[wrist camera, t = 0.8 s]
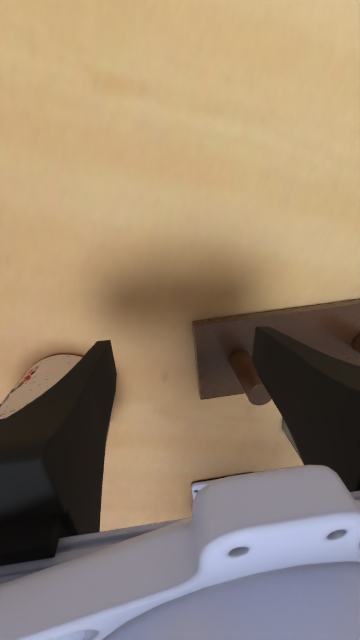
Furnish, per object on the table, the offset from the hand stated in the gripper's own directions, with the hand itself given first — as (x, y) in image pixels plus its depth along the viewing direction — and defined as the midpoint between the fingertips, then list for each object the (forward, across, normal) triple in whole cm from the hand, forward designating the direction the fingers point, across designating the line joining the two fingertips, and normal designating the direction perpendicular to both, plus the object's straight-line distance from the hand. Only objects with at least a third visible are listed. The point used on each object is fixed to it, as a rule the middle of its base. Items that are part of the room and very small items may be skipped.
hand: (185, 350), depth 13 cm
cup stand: (+9, -12, +7) cm, 17 cm away
